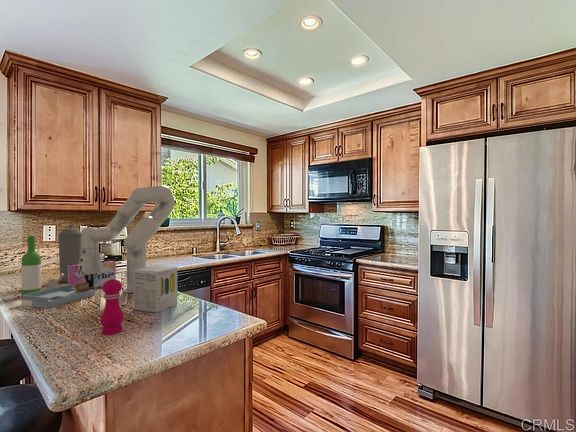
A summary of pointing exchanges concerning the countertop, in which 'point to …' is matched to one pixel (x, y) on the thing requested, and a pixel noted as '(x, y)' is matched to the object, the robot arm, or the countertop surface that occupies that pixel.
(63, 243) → the canister
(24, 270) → the wine bottle
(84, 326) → the countertop surface
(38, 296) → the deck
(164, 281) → the supplement box
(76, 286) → the block
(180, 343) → the countertop surface
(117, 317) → the pepper mill
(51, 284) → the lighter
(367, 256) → the countertop surface
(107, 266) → the gum box
